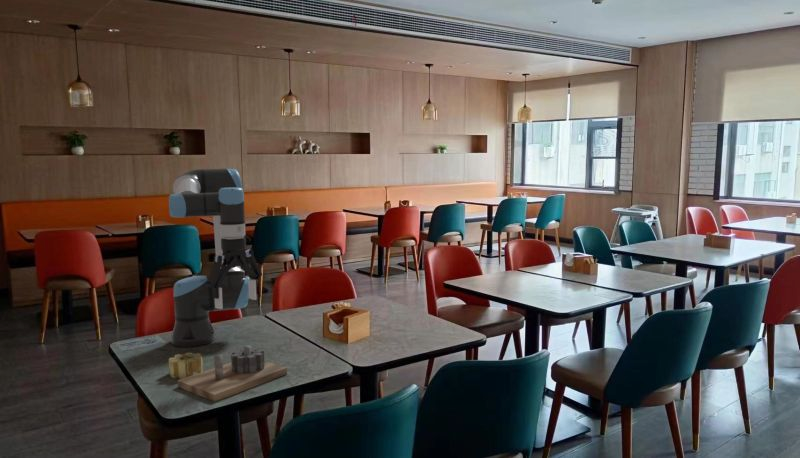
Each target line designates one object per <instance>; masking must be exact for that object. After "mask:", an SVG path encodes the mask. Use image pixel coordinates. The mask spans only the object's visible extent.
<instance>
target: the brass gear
mask: <svg viewBox="0 0 800 458" xmlns="http://www.w3.org/2000/svg"><path fill="white" fill-rule="evenodd" d="M203 364H204V363H203V356H202V354H201V353H198V352H196V353H192V352H185V353H183V354H180V353H178V354H175V355H174V356H173V357H169V358H168V368H169V376H170V378H172V379H177V378H178V379H179V380H180V379H183V378H186V377H189V376H192V375H195V374H198V373H201V372H204V367H203V366H204V365H203Z"/></svg>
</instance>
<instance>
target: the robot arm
mask: <svg viewBox="0 0 800 458" xmlns="http://www.w3.org/2000/svg"><path fill="white" fill-rule="evenodd" d="M172 191H173V193H171V194H169V196H168V207H169V208H168V209H169V215H170V217H172V218H181V219H183V218H193V217H213V230H214V231H213V232H214V233H213V236H214V247H215V248H214V249H215V254H214V255H213V263H212V266H211V269H210V272H209V275H208V277H207V276H206V275H195V276H188V277H185V278H182V279H180V280H177V281H176V282H175V283H174V285H173V295H172V296H173V299H174V301H173V302H174V320H175V322H174V327H173V330H172V334H171V338H170V339H171V341H170V342H171V344H172V345H173V346H175V347H178V348H179V347H180V348H181V347H183V348H190V347H198V346H203V345H207V344H210V343H212V342H213V341H215V340H216V335H215V334H216V333H215V330H214V327H213V325H212V323H211V320H210V313H209V312H217V311H229V310H234V311H235V310H237V309H238V310H239V309H244V308H246V307H247V306H248V304H249V300H253V301H254V300H255V301H256V300H257V289H258V280H259V279H260V277H262V276H263V273H262V271H261V268H260V267H259V264H258V261H257V260H256V258H255V254H254V250H253V249H249V248H247V238H246V237H245V236H246V220H245V212H246V211H245V200H246V199H245V193H244V189H243V184H242V178H241V175H240V173H239V171H238V170H237V169H235V168H226V167H225V168H202V169H201V168H198V169H191V170H188V171H186V172H185V171H184V173H182V174H180V175H178V176H177V177H176V178H175V179H174V182H173V183H172ZM245 258H246V259H245Z"/></svg>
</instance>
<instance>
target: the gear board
mask: <svg viewBox="0 0 800 458" xmlns="http://www.w3.org/2000/svg"><path fill="white" fill-rule="evenodd" d="M213 357H214V358H213V359H214V368H210V369H207V370H205V371H204V370H203V372H201V373H198V374H195V375H192V376H189V377H186V378H183V379H180V378H179V379H178V380H177V388H180V389H182V390H185V391H187V392H188V393H192V394H195V395H196V396H200V397H202V398H205V399H207V400H210V401H212V402H213V403H215V402H218V401H222V400H223V399H227V398H228V397H231V396H233V395H236V394H238V393H242V392H244V391H247V390H249V389H251V388H254V387H256V386H260V385H262V384H265V383H268V382H270V381H272V380H275V379H277V378H280V377H283V376H285V375H288V371H287V369H288V367H285V366H282V365H279V364H275V363H272V362H268V361H266V360H265V350H263V349H259V348H258V347H252V345H250V344H249V345H248V344H247V345H245V346H244V345H243V348H240V350H234V351H232V352H231V355H230V359H231V361H230V362H228V363H225V364H223V355H222V354H216V355H214V356H213Z"/></svg>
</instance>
